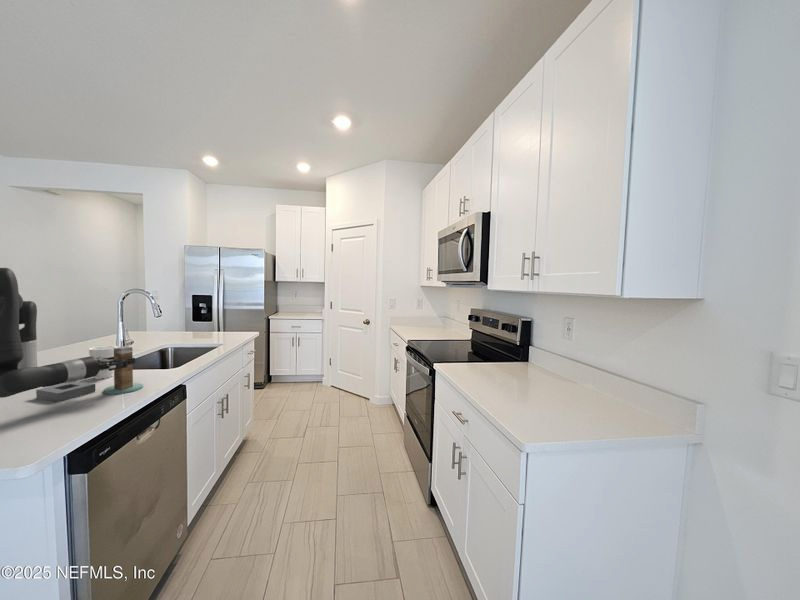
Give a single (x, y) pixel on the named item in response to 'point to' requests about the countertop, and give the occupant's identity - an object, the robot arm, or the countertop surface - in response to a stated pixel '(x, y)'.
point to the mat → (116, 391)
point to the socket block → (65, 391)
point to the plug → (123, 369)
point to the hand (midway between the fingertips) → (126, 359)
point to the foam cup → (103, 352)
